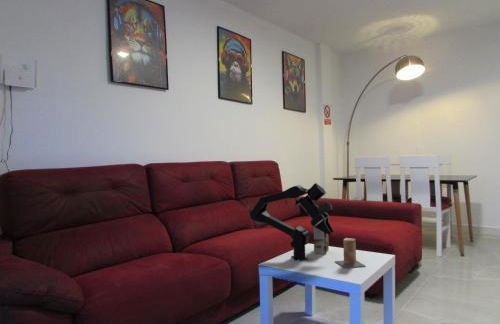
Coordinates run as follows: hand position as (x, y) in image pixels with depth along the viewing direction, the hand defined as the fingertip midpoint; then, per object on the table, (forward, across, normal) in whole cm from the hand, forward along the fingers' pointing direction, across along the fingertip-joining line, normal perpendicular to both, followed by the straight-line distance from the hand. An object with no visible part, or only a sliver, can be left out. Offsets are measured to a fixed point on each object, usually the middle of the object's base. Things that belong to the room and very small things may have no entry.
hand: (331, 233), depth 166 cm
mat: (+16, 0, +3) cm, 16 cm away
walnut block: (+15, 0, +2) cm, 15 cm away
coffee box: (+4, +18, +14) cm, 23 cm away
